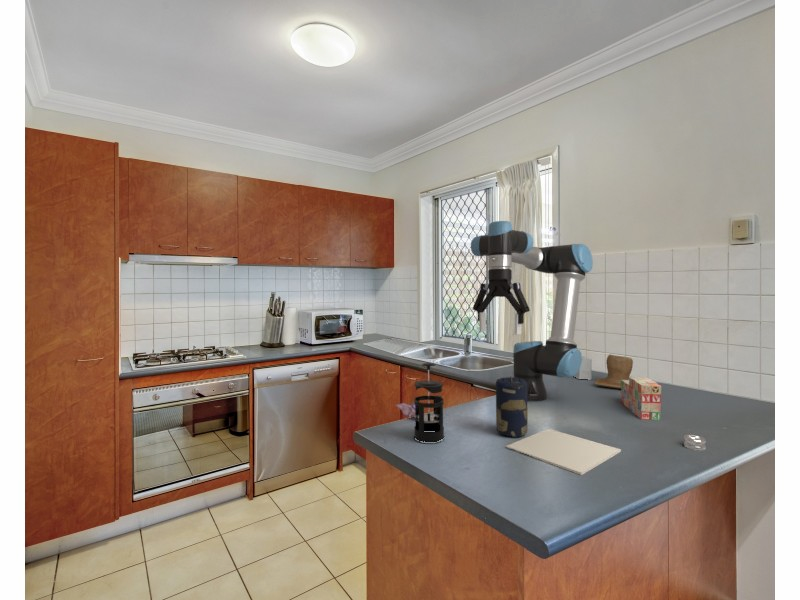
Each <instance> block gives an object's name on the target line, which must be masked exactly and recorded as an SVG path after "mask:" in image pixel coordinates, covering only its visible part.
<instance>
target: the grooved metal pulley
mask: <svg viewBox="0 0 800 600" xmlns="http://www.w3.org/2000/svg"><path fill="white" fill-rule="evenodd" d="M683 439H684V441H683V446H684V447H685V448H686V447H687V448H686V449H688V448H690V449H689V450H691V449H694V450H693V451H696V450H699V451H698V452H703V450H704V451H706V449H707V448H706V447H707V446H706V445H705V444H707V441H706V439H705V438H704V437H703V436H700V435H695V434H685V435H684V437H683Z"/></svg>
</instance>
